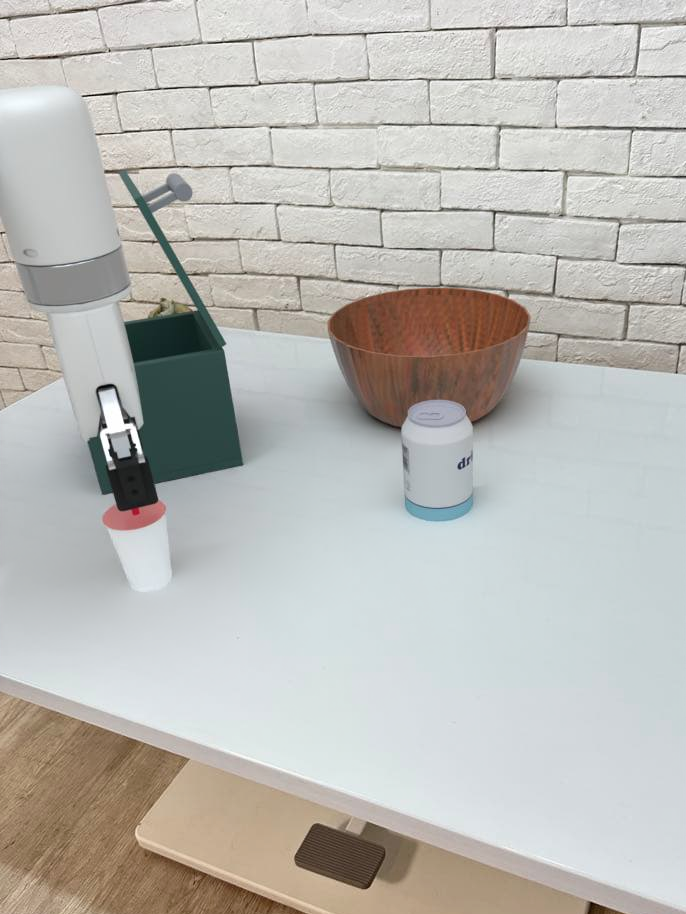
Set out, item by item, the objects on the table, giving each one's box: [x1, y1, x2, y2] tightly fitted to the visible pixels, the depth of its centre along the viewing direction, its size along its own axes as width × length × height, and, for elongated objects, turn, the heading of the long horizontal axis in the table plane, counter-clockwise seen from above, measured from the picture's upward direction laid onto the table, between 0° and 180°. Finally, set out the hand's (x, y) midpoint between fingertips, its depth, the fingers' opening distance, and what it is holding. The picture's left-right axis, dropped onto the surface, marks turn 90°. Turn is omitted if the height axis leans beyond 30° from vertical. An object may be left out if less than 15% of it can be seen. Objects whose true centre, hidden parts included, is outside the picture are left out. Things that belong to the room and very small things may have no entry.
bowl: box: [326, 287, 532, 428], centre depth 108 cm, size 25×25×12 cm
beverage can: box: [400, 400, 474, 523], centre depth 84 cm, size 7×7×12 cm
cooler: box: [86, 309, 244, 495], centre depth 99 cm, size 16×15×14 cm
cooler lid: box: [118, 169, 227, 348], centre depth 92 cm, size 17×15×6 cm
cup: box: [101, 499, 173, 593], centre depth 76 cm, size 5×5×12 cm
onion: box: [147, 297, 194, 318], centre depth 131 cm, size 8×8×8 cm
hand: (131, 478), depth 72 cm, fingers open, 9 cm apart
